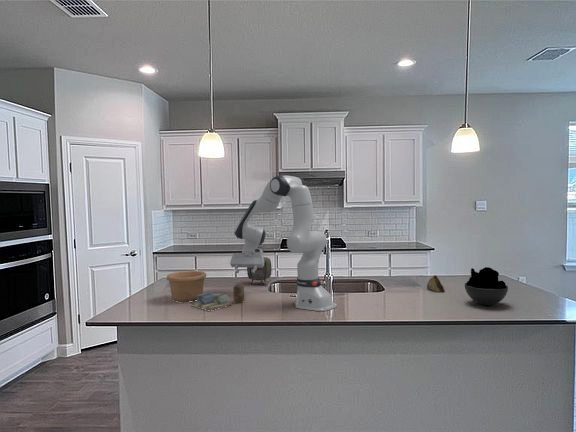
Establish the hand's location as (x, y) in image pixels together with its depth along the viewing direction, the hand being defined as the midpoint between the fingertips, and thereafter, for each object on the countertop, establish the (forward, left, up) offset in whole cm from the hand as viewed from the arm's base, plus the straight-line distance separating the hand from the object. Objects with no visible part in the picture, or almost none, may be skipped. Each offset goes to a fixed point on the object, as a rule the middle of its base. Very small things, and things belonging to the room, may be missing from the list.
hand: (244, 272), depth 232 cm
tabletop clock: (+18, -29, -15) cm, 37 cm away
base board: (0, +24, -14) cm, 28 cm away
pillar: (-6, +10, -14) cm, 18 cm away
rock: (-79, -80, -15) cm, 113 cm away
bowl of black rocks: (-111, -66, -15) cm, 130 cm away
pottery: (+23, +24, -15) cm, 36 cm away
